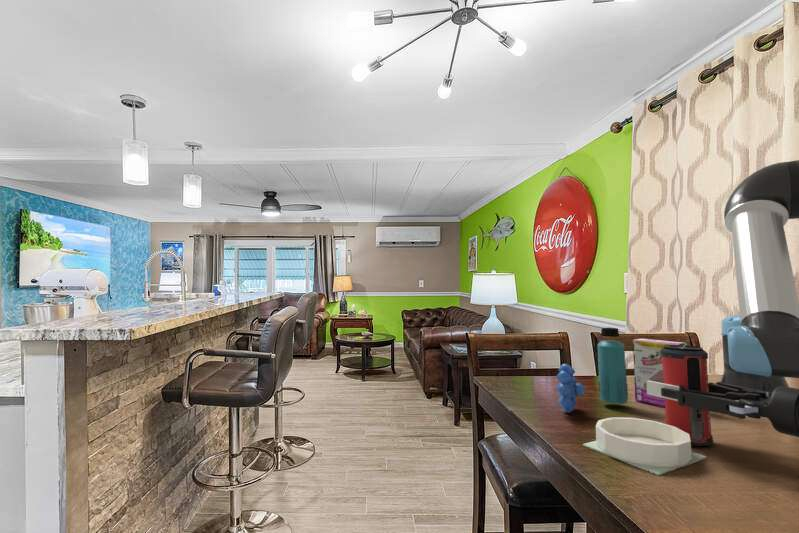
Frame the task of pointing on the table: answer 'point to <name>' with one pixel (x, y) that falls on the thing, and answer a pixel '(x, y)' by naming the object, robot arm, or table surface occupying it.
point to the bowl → (644, 442)
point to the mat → (651, 469)
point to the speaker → (693, 375)
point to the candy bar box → (649, 368)
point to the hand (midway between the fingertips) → (659, 385)
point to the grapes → (568, 388)
